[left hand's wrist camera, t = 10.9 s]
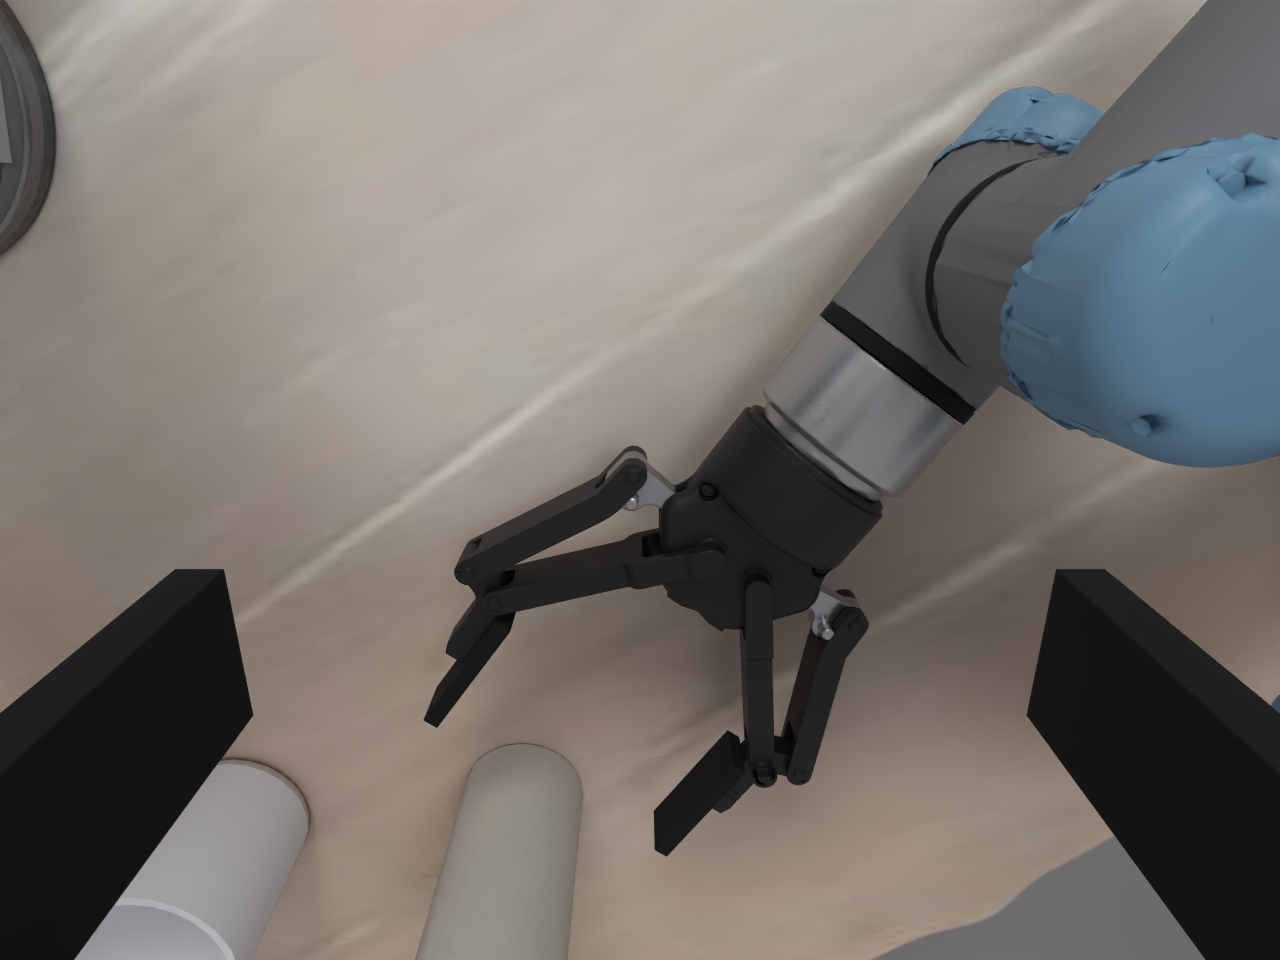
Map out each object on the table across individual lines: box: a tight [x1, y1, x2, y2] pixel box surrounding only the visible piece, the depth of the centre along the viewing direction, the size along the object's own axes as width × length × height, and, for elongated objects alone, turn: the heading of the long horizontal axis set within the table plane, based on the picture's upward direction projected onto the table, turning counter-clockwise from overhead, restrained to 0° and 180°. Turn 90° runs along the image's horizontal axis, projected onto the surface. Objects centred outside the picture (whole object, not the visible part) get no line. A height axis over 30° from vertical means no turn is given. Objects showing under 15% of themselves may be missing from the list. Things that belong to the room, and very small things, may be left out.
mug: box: [75, 759, 309, 960], centre depth 44 cm, size 11×9×10 cm
